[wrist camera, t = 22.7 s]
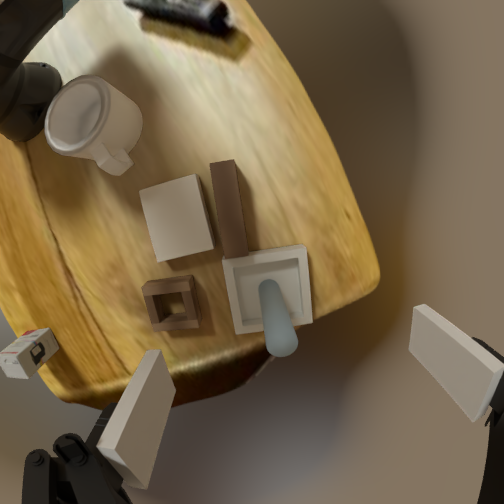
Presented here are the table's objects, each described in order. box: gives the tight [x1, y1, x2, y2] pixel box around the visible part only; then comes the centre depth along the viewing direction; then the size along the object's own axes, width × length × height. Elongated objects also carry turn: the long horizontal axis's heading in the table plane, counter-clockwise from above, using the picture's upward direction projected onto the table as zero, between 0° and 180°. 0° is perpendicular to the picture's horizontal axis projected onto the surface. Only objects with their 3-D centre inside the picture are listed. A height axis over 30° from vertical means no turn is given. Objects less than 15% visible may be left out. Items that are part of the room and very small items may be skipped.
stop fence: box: [210, 160, 249, 259], centre depth 36 cm, size 3×12×4 cm, turn 8°
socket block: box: [141, 275, 202, 332], centre depth 39 cm, size 7×7×3 cm
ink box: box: [0, 328, 59, 379], centre depth 36 cm, size 9×5×12 cm, turn 103°
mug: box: [45, 75, 143, 176], centre depth 30 cm, size 14×10×11 cm
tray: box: [222, 244, 313, 335], centre depth 39 cm, size 11×11×2 cm
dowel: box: [258, 279, 298, 357], centre depth 32 cm, size 3×3×15 cm
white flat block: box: [139, 174, 216, 262], centre depth 37 cm, size 8×10×3 cm
